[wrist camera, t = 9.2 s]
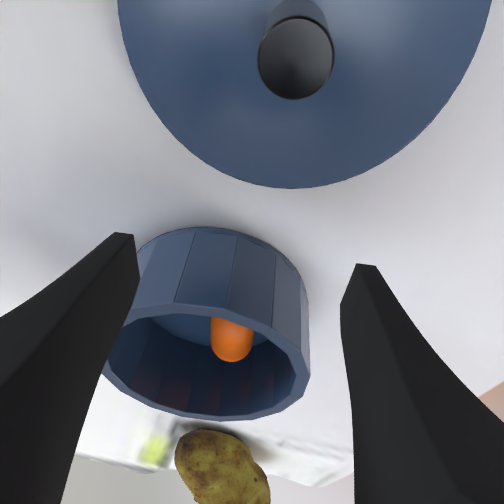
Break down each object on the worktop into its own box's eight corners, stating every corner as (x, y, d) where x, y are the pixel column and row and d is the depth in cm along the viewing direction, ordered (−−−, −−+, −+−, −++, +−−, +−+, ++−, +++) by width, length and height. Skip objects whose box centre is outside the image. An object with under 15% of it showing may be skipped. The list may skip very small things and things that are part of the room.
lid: (58, 0, 15) (-12, 25, 11) (365, -458, 8) (414, -720, 5) (267, 219, 21) (262, 276, 18) (534, 57, 15) (606, 98, 11)
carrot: (228, 327, 29) (259, 350, 27) (201, 353, 27) (233, 378, 26) (234, 252, 23) (272, 275, 22) (200, 277, 21) (240, 304, 20)
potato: (240, 416, 39) (230, 506, 33) (280, 461, 46) (278, 541, 40) (172, 422, 41) (151, 506, 35) (221, 464, 49) (210, 539, 43)
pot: (92, 281, 26) (51, 355, 22) (220, 190, 20) (198, 266, 16) (214, 363, 32) (201, 434, 28) (341, 312, 26) (350, 392, 22)
